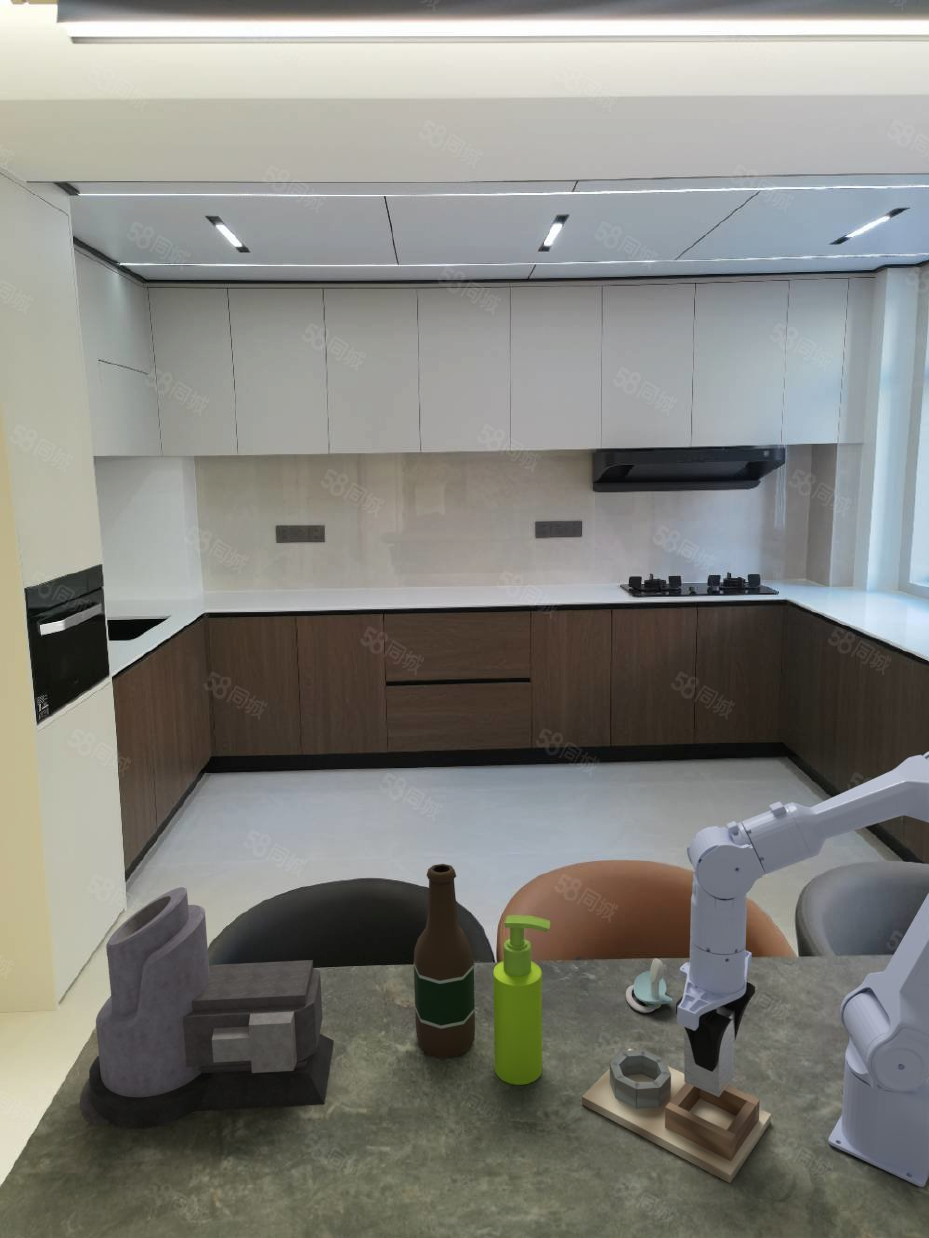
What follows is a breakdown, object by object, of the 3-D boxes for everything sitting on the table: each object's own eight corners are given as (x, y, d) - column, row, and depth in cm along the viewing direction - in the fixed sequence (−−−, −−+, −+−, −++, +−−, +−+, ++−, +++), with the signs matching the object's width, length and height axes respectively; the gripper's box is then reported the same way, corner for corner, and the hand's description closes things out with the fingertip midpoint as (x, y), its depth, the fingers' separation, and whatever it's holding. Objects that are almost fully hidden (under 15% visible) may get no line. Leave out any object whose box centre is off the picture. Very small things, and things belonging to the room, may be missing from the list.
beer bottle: (477, 1023, 115) (474, 855, 111) (472, 1062, 107) (469, 883, 103) (420, 1021, 116) (415, 854, 112) (411, 1059, 108) (405, 881, 104)
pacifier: (631, 1018, 116) (675, 1016, 116) (630, 976, 115) (675, 974, 115) (621, 987, 123) (662, 985, 123) (620, 947, 122) (662, 944, 122)
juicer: (57, 1134, 97) (35, 934, 93) (107, 1042, 112) (90, 868, 109) (323, 1118, 98) (313, 921, 94) (336, 1030, 114) (328, 858, 110)
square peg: (734, 1077, 95) (734, 1010, 93) (718, 1097, 92) (719, 1028, 90) (700, 1062, 97) (700, 997, 96) (684, 1081, 94) (684, 1014, 93)
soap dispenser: (547, 1088, 102) (547, 934, 99) (491, 1081, 104) (488, 928, 100) (552, 1056, 108) (552, 909, 105) (498, 1050, 109) (496, 904, 106)
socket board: (770, 1121, 96) (771, 1094, 96) (730, 1183, 88) (731, 1153, 87) (629, 1055, 108) (629, 1030, 107) (582, 1104, 100) (582, 1077, 99)
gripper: (711, 903, 99) (708, 1009, 102) (651, 956, 88) (649, 1074, 91) (771, 922, 95) (767, 1033, 97) (715, 981, 84) (712, 1104, 86)
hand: (714, 1055), depth 94 cm, fingers closed on square peg, 4 cm apart
